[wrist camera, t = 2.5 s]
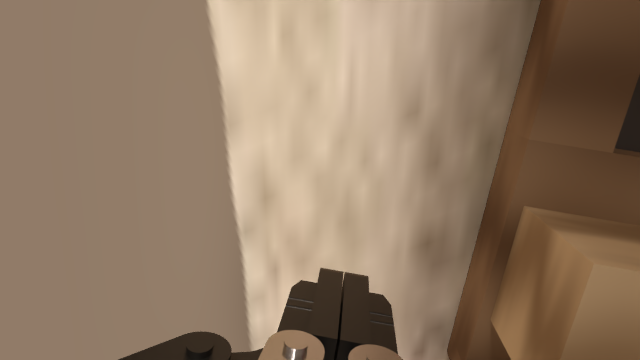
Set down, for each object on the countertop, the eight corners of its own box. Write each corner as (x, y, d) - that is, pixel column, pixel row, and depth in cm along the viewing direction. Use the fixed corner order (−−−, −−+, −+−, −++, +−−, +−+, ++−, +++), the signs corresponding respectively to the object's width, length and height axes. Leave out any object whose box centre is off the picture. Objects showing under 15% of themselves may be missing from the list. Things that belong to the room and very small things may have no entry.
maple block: (523, 206, 16) (594, 263, 11) (659, 228, 16) (791, 298, 11) (490, 319, 17) (539, 415, 12) (614, 343, 17) (714, 450, 12)
